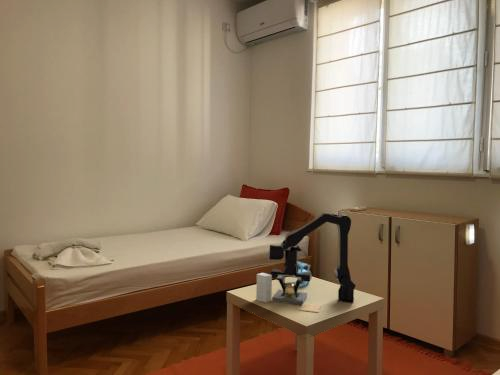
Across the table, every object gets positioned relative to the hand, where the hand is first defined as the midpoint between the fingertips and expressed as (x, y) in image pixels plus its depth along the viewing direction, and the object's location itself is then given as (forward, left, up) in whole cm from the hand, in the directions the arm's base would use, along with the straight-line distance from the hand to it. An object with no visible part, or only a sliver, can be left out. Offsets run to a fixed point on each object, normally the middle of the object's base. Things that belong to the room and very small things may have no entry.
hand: (290, 293), depth 188 cm
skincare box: (+11, +6, -3) cm, 13 cm away
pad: (-11, +9, -3) cm, 14 cm away
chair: (-1, -24, -3) cm, 24 cm away
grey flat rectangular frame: (0, 0, -3) cm, 3 cm away
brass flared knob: (0, 0, -3) cm, 3 cm away
